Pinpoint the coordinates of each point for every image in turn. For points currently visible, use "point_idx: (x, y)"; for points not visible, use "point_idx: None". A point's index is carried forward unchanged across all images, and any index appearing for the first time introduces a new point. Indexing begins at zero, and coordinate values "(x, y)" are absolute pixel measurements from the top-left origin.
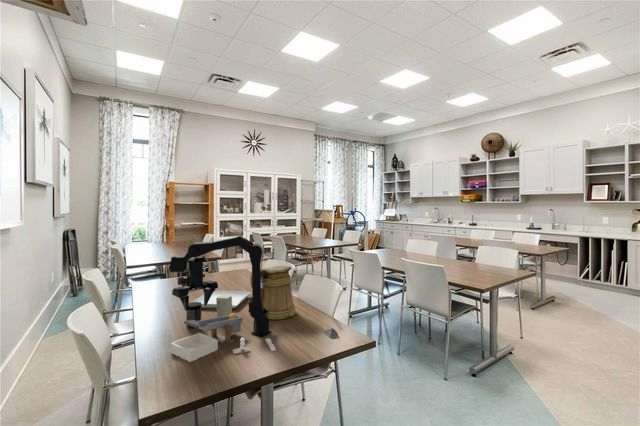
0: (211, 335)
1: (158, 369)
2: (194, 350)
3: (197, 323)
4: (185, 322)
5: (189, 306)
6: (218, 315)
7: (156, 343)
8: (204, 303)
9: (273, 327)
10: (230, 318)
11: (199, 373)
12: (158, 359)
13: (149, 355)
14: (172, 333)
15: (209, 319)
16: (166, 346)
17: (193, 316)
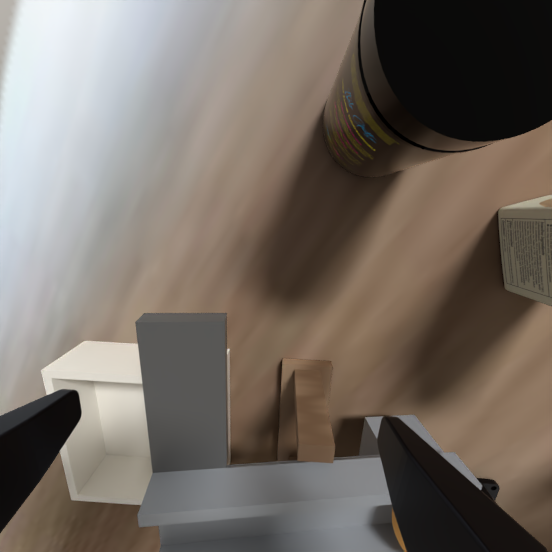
0: (294, 375)
1: (2, 408)
2: (97, 497)
3: (187, 429)
4: (140, 337)
5: (375, 50)
6: (546, 226)
7: (78, 175)
8: (391, 441)
9: (539, 504)
10: (394, 528)
11: (93, 520)
12: (26, 344)
13: (7, 278)
14: (209, 114)
15: (242, 515)
16: (101, 259)
17: (361, 146)
